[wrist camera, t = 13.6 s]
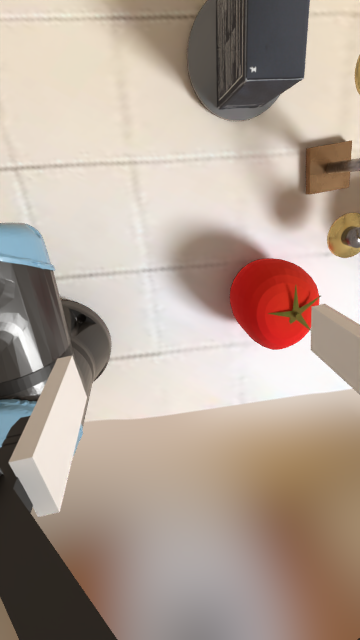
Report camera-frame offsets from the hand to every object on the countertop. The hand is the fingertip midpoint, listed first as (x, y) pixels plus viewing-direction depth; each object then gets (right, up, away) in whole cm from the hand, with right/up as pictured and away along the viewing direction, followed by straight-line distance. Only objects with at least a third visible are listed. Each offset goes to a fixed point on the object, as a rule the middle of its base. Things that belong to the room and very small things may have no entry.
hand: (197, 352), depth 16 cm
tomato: (+12, +6, +34) cm, 37 cm away
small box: (+6, +34, +20) cm, 40 cm away
